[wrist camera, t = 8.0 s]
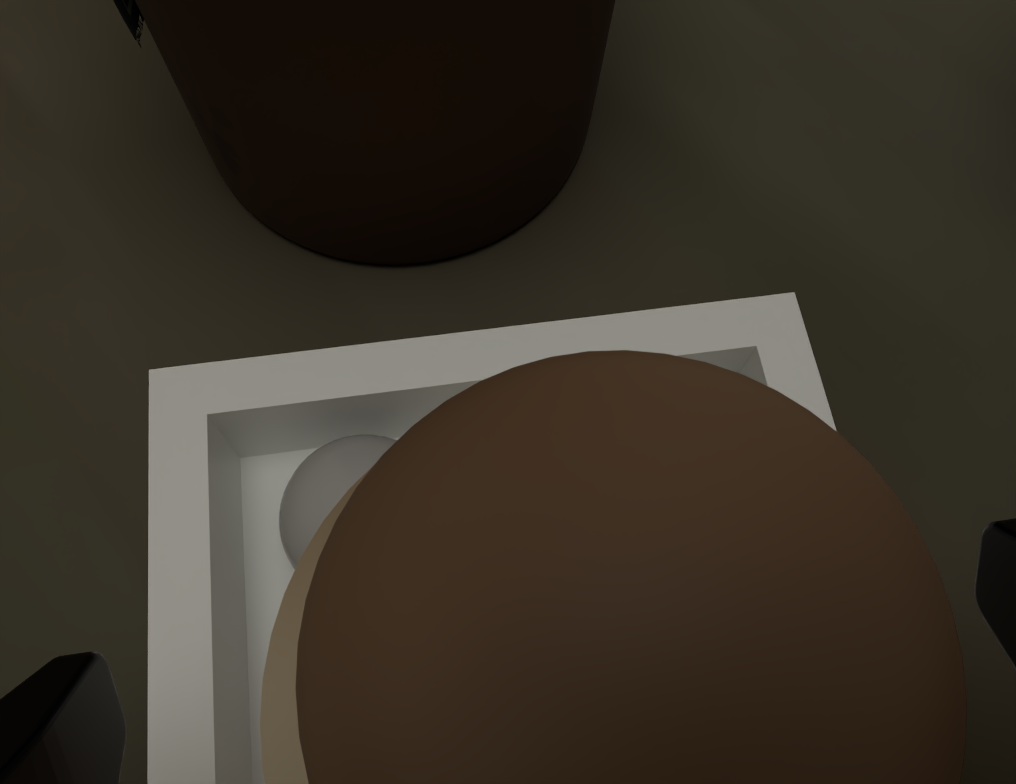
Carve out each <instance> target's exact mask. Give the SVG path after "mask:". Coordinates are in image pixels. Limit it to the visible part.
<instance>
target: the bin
mask: <svg viewBox="0 0 1016 784" xmlns="http://www.w3.org/2000/svg"><path fill="white" fill-rule="evenodd" d="M611 350H631V351H642V352H653V353H664V354H670V355H674V356H679V357H684V358H689V359H694V360H698V361H703V362H707V363H710V364H713V365H716V366H719V367H722V368H725V369H728V370H731V371H734V372H737V373H740V374H743V375H745V376H747V377H749V378H751V379H753V380H755V381H758V382H760V383H762V384H764V385H766V386H768V387H771V388H773V389H775V390H777V391H778V392H780V393H782V394H783V395H785V396H787V397H788V398H790V399H792V400H793V401H795V402H796V403H798V404H800V405H801V406H803V407H805V408H806V409H808V410H810V411H811V412H812V413H813V414H815V415H816V416H817V417H819V418H820V419H821V420H822V421H824V422H825V423H826V424H828V425H829V426H830V427H831V428H833V429H834V430H835V431H836V427H835V424H834V421H833V418H832V414H831V411H830V408H829V404H828V401H827V398H826V395H825V391H824V388H823V385H822V381H821V378H820V375H819V372H818V368H817V365H816V362H815V358H814V355H813V352H812V349H811V345H810V342H809V339H808V335H807V332H806V329H805V326H804V322H803V319H802V316H801V312H800V309H799V306H798V303H797V299H796V296H795V293H794V292H793V293H785V294H776V295H768V296H760V297H751V298H743V299H735V300H726V301H718V302H710V303H701V304H693V305H685V306H676V307H668V308H660V309H651V310H643V311H635V312H626V313H618V314H610V315H601V316H593V317H585V318H576V319H568V320H560V321H551V322H543V323H535V324H526V325H518V326H510V327H501V328H493V329H485V330H476V331H468V332H460V333H451V334H443V335H435V336H426V337H418V338H410V339H401V340H393V341H385V342H376V343H368V344H360V345H351V346H343V347H335V348H326V349H318V350H310V351H301V352H293V353H285V354H276V355H268V356H260V357H251V358H243V359H235V360H226V361H218V362H210V363H201V364H193V365H185V366H176V367H168V368H160V369H151V370H149V522H148V784H265V780H264V775H263V768H262V751H261V735H260V713H261V697H262V681H263V674H264V669H265V664H266V658H267V653H268V648H269V642H270V637H271V633H272V630H273V627H274V624H275V621H276V618H277V614H278V611H279V608H280V605H281V602H282V599H283V596H284V593H285V591H286V589H287V586H288V584H289V582H290V580H291V578H292V576H293V573H294V571H295V570H294V568H293V567H292V565H291V563H290V562H289V560H288V558H287V556H286V553H285V551H284V549H283V545H282V542H281V538H280V531H279V511H280V504H281V500H282V496H283V493H284V490H285V488H286V486H287V484H288V482H289V480H290V478H291V477H292V475H293V473H294V472H295V470H296V469H297V468H298V467H299V465H300V464H301V463H302V462H303V461H304V460H305V459H306V458H307V457H308V456H309V455H310V454H312V453H313V452H314V451H315V450H317V449H318V448H320V447H322V446H323V445H325V444H327V443H329V442H331V441H334V440H336V439H339V438H342V437H346V436H352V435H361V434H370V435H379V436H385V437H389V438H392V439H395V440H398V439H399V438H400V437H401V436H403V435H404V434H405V433H406V432H407V431H408V430H409V429H410V428H411V427H412V426H413V425H414V424H415V423H417V422H418V421H419V420H421V419H422V418H423V417H425V416H426V415H427V414H429V413H430V412H431V411H433V410H434V409H435V408H437V407H438V406H440V405H441V404H442V403H444V402H445V401H446V400H448V399H450V398H451V397H453V396H455V395H457V394H458V393H460V392H462V391H464V390H465V389H467V388H469V387H471V386H472V385H474V384H476V383H478V382H479V381H482V380H484V379H487V378H489V377H491V376H494V375H496V374H499V373H501V372H503V371H506V370H508V369H511V368H513V367H516V366H520V365H523V364H527V363H530V362H534V361H538V360H541V359H545V358H548V357H553V356H560V355H566V354H573V353H579V352H586V351H611Z"/></svg>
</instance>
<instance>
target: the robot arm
mask: <svg viewBox="0 0 1016 784" xmlns="http://www.w3.org/2000/svg"><path fill="white" fill-rule="evenodd" d="M975 598H976V602H977V606H978V608H979V611H980V612H981V614H982V616H983V618H984V619H985V621H986V623H987V624H988V626H989V627H990V629H991V630H992V632H993V634H994V635H995V637H996V638H997V640H998V642H999V643H1000V645H1001V646H1002V648H1003V650H1004V651H1005V653H1006V654H1007V656H1008V658H1009V659H1010V661H1011V662H1012V664H1013V666H1014V667H1015V669H1016V518H1015V519H1009V520H1002V521H995V522H991V523H990V524H988V525H987V526H986V527H985V529H984V530H983V532H982V536H981V542H980V550H979V558H978V565H977V573H976V580H975ZM125 744H126V722H125V717H124V713H123V710H122V707H121V704H120V700H119V697H118V694H117V691H116V688H115V684H114V681H113V678H112V675H111V672H110V668H109V665H108V663H107V661H106V659H105V658H104V656H103V655H102V654H100V653H98V652H96V651H92V652H85V653H78V654H71V655H64V656H59V657H56V658H54V659H52V660H51V661H50V662H48V663H47V664H46V665H44V666H43V667H42V668H41V669H39V670H38V671H37V672H35V673H34V674H33V675H31V676H30V677H29V678H28V679H26V680H25V681H24V682H22V683H21V684H20V685H18V686H17V687H16V688H14V689H13V690H12V691H11V692H9V693H8V694H7V695H5V696H4V697H3V698H1V699H0V784H119V778H120V772H121V767H122V761H123V755H124V750H125Z"/></svg>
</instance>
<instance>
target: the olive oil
mask: <svg viewBox="0 0 1016 784" xmlns="http://www.w3.org/2000/svg"><path fill="white" fill-rule="evenodd" d="M113 1H114V3H115V4H116V6H117V8H118V10H119V12H120V14H121V16H122V18H123V20H124V21H125V23H126V25H127V26H128V28H129V30H130V32H131V33H132V35H133V37H134V38H135V40H136V39H137V38H141V37H140V36H141V35H142V34H141V33H140V31H139V30H138V31H139V33H140V35H139V33H138V34H137V36H138V37H137V38H136V33H137V32H136V31H137V28H138V27H139V28H140V26H139V24H138V22H139V21H140V20H139V15H140V16H141V18H142V22H143V21H144V20H145V22H146V24H147V26H148V28H149V30H150V32H151V34H152V36H153V39H154V41H155V43H156V45H157V47H158V49H159V51H160V53H161V55H162V57H163V59H164V61H165V63H166V65H167V67H168V69H169V71H170V73H171V76H172V78H173V80H174V82H175V84H176V86H177V88H178V90H179V92H180V94H181V96H182V98H183V100H184V102H185V104H186V106H187V108H188V111H189V113H190V115H191V117H192V119H193V121H194V123H195V125H196V127H197V129H198V131H199V133H200V135H201V137H202V139H203V141H204V143H205V145H206V147H207V149H208V151H209V153H210V156H211V157H212V159H213V161H214V163H215V165H216V167H217V169H218V171H219V172H220V174H221V176H222V177H223V179H224V181H225V182H226V184H227V185H228V187H229V188H230V189H231V191H232V192H233V193H234V194H235V196H236V197H237V198H238V199H239V200H240V201H241V203H242V204H243V205H244V206H245V207H246V208H247V209H248V210H249V211H250V212H251V213H252V214H253V215H254V216H256V217H257V218H258V219H259V220H260V221H262V222H263V223H264V224H266V225H267V226H268V227H270V228H271V229H273V230H274V231H276V232H277V233H279V234H280V235H282V236H284V237H286V238H287V239H289V240H291V241H293V242H295V243H297V244H299V245H302V246H304V247H306V248H309V249H311V250H314V251H317V252H319V253H322V254H326V255H329V256H333V257H336V258H341V259H345V260H350V261H356V262H363V263H372V264H414V263H423V262H430V261H436V260H441V259H446V258H450V257H454V256H458V255H461V254H464V253H467V252H470V251H473V250H476V249H478V248H481V247H483V246H486V245H488V244H490V243H492V242H494V241H496V240H498V239H500V238H502V237H504V236H506V235H507V234H509V233H511V232H512V231H514V230H516V229H517V228H519V227H520V226H522V225H523V224H524V223H526V222H527V221H528V220H530V219H531V218H532V217H533V216H535V215H536V214H537V213H538V212H539V211H540V210H541V209H542V208H543V207H544V206H545V205H546V204H547V203H548V202H549V201H550V200H551V199H552V198H553V197H554V196H555V195H556V193H557V192H558V191H559V190H560V188H561V187H562V186H563V184H564V183H565V181H566V180H567V178H568V176H569V175H570V173H571V171H572V170H573V168H574V166H575V164H576V162H577V160H578V157H579V155H580V153H581V150H582V148H583V145H584V142H585V138H586V135H587V131H588V127H589V123H590V119H591V114H592V109H593V105H594V100H595V95H596V90H597V85H598V81H599V76H600V71H601V66H602V61H603V56H604V52H605V47H606V42H607V37H608V32H609V27H610V23H611V18H612V13H613V8H614V3H615V0H113ZM139 23H141V22H139ZM141 25H143V24H142V23H141ZM141 28H143V26H142V27H141ZM140 30H141V29H140ZM137 40H139V39H137ZM139 41H140V40H139ZM139 41H137V42H139ZM138 44H139V45H140V43H138ZM140 47H141V45H140Z"/></svg>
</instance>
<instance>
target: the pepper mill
mask: <svg viewBox="0 0 1016 784" xmlns="http://www.w3.org/2000/svg"><path fill="white" fill-rule="evenodd" d="M966 712H967V701H966V690H965V680H964V669H963V658H962V654H961V649H960V644H959V640H958V635H957V631H956V626H955V622H954V617H953V613H952V609H951V606H950V603H949V600H948V597H947V595H946V592H945V589H944V586H943V583H942V580H941V577H940V574H939V572H938V569H937V567H936V565H935V563H934V561H933V559H932V557H931V555H930V553H929V550H928V548H927V546H926V544H925V542H924V540H923V538H922V536H921V534H920V532H919V530H918V529H917V527H916V525H915V524H914V522H913V521H912V519H911V518H910V516H909V515H908V513H907V511H906V510H905V508H904V507H903V505H902V504H901V502H900V500H899V499H898V497H897V496H896V495H895V493H894V492H893V491H892V490H891V488H890V487H889V486H888V485H887V483H886V482H885V481H884V480H883V479H882V477H881V476H880V475H879V474H878V472H877V471H876V470H875V469H874V467H873V466H872V465H871V464H870V463H869V462H868V461H867V460H866V459H865V458H864V457H863V456H862V455H861V454H860V453H859V452H858V451H857V450H856V449H855V448H854V447H853V446H852V445H851V444H850V443H849V442H848V441H847V440H846V439H845V438H844V437H843V436H842V435H840V434H839V433H838V432H837V431H835V430H834V429H833V428H831V427H830V426H829V425H828V424H826V423H825V422H824V421H822V420H821V419H820V418H819V417H817V416H816V415H815V414H813V413H812V412H811V411H810V410H808V409H806V408H805V407H803V406H801V405H800V404H798V403H796V402H795V401H793V400H792V399H790V398H788V397H787V396H785V395H783V394H782V393H780V392H778V391H777V390H775V389H773V388H771V387H768V386H766V385H764V384H762V383H760V382H758V381H755V380H753V379H751V378H749V377H747V376H745V375H743V374H740V373H737V372H734V371H731V370H728V369H725V368H722V367H719V366H716V365H713V364H710V363H707V362H703V361H698V360H694V359H689V358H684V357H679V356H674V355H670V354H664V353H653V352H642V351H631V350H611V351H586V352H579V353H573V354H566V355H560V356H553V357H548V358H545V359H541V360H538V361H534V362H530V363H527V364H523V365H520V366H516V367H513V368H511V369H508V370H506V371H503V372H501V373H499V374H496V375H494V376H491V377H489V378H487V379H484V380H482V381H479V382H478V383H476V384H474V385H472V386H471V387H469V388H467V389H465V390H464V391H462V392H460V393H458V394H457V395H455V396H453V397H451V398H450V399H448V400H446V401H445V402H444V403H442V404H441V405H440V406H438V407H437V408H435V409H434V410H433V411H431V412H430V413H429V414H427V415H426V416H425V417H423V418H422V419H421V420H419V421H418V422H417V423H415V424H414V425H413V426H412V427H411V428H410V429H409V430H408V431H407V432H406V433H405V434H404V435H403V436H401V437H400V438H399V439H398V440H397V441H396V442H395V443H394V444H393V445H392V446H391V447H390V448H389V449H388V450H387V451H386V452H385V453H384V454H383V455H382V456H381V457H380V458H379V460H378V461H377V462H376V463H375V464H374V465H373V466H372V467H371V468H370V469H369V470H368V471H367V472H366V473H365V474H364V475H363V476H362V477H361V478H360V479H359V480H358V481H357V482H356V483H355V484H354V485H353V486H352V487H350V488H349V490H348V491H347V492H346V493H345V495H344V496H343V497H342V498H341V499H340V501H339V502H338V503H337V504H336V506H335V507H334V508H333V509H332V511H331V512H330V513H329V514H328V516H327V517H326V518H325V519H324V521H323V522H322V524H321V525H320V527H319V529H318V530H317V532H316V533H315V535H314V537H313V538H312V540H311V541H310V543H309V545H308V546H307V548H306V549H305V551H304V553H303V554H302V556H301V558H300V560H299V563H298V565H297V567H296V569H295V571H294V573H293V576H292V578H291V580H290V582H289V584H288V586H287V589H286V591H285V593H284V596H283V599H282V602H281V605H280V608H279V611H278V614H277V618H276V621H275V624H274V627H273V630H272V633H271V637H270V642H269V648H268V653H267V658H266V664H265V669H264V674H263V681H262V697H261V713H260V735H261V751H262V768H263V775H264V780H265V784H960V778H961V772H962V766H963V760H964V754H965V741H966Z"/></svg>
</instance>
